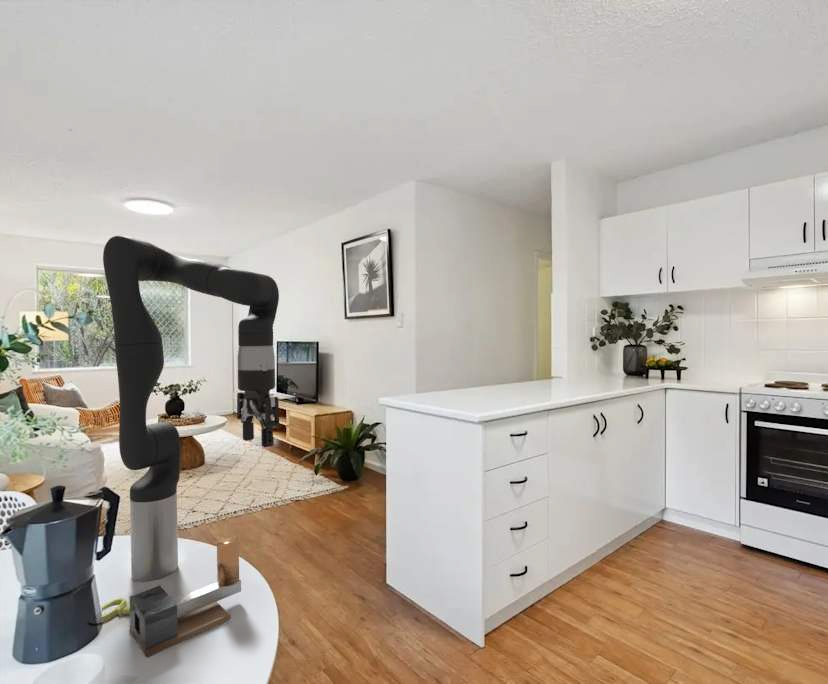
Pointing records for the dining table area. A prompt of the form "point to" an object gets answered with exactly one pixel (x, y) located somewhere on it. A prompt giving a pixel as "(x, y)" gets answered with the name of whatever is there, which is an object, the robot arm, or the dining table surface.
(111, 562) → the dining table surface
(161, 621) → the block
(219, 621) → the base board
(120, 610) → the key
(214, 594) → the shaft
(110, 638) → the dining table surface
